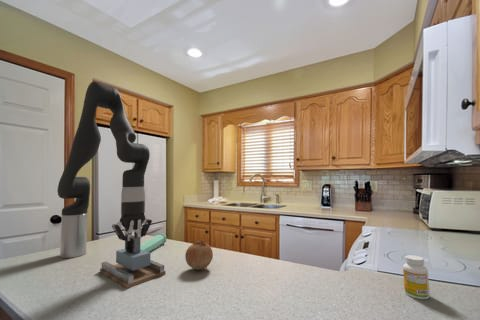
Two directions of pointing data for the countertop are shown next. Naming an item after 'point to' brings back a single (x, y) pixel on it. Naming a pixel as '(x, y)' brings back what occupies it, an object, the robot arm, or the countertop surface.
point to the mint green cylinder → (153, 242)
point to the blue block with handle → (133, 256)
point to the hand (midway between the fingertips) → (132, 250)
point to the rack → (132, 273)
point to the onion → (199, 255)
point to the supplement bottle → (416, 278)
